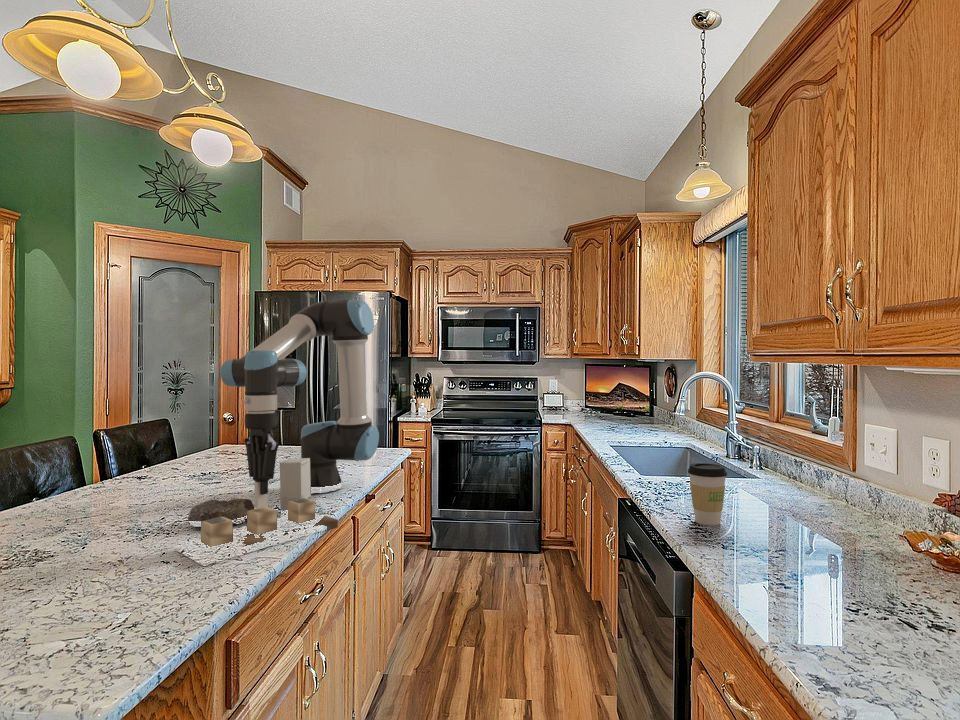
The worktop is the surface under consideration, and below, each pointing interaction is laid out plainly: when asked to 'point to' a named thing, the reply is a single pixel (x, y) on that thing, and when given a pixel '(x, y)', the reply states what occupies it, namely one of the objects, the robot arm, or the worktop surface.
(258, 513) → the plain beech block
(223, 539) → the marked block 1
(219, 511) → the rock
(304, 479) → the skincare box
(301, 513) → the marked block 2
